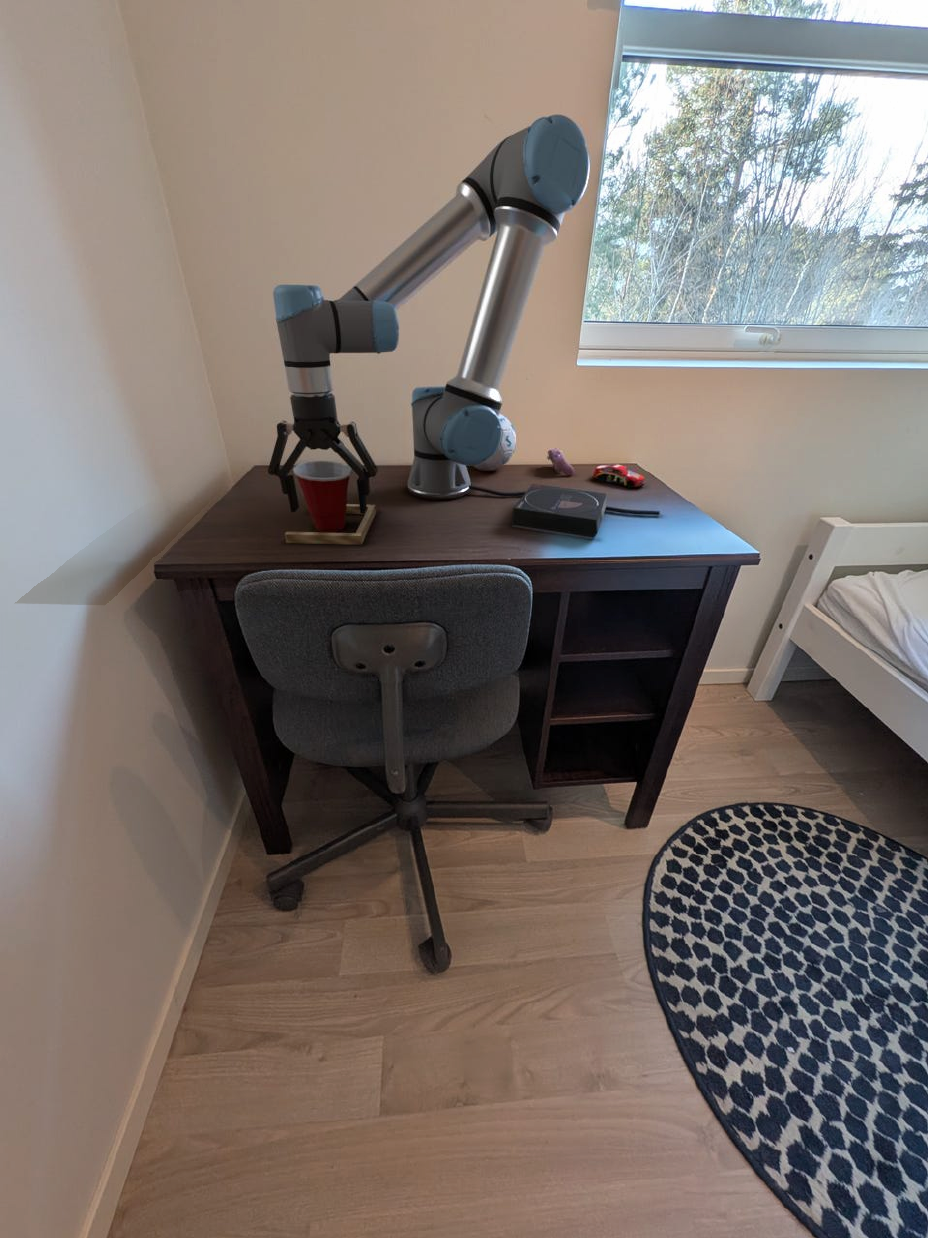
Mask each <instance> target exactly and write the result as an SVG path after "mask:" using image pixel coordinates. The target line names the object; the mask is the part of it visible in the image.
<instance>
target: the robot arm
mask: <svg viewBox="0 0 928 1238" xmlns="http://www.w3.org/2000/svg"><path fill="white" fill-rule="evenodd" d="M587 147H588V146H587V140H586V138H585V135H584V134H583V131H582V130H581V128H580V127H579V126H578V124H577V123H576V121H574V120H573V119H571V118H570V117H568V116H566V115H563V114H552V115H549V116H542V117H539V118H537V119H536V120H535V121H533V122H532V123H531V125H529V126H527V127H525V128H523V129H521V130H519V131H517V132H515V133H513V134H511V135H508V136H507V137H505V138H504V139H502V140H501V141H500V142H498V144H497V145H496V146H494V148H493V149H492V150H491V151H490V152H489V153H488V154H487V155H486V156H485V157H484V159H483V160H481V162H479V163H478V165H477V166H476V167H475V168H473V170H472V171H471V172H470V173H469V174H468V175H467V176H466V177H465V178H464V179H463V180H461V181H460V182H459V183H458V184H457V186H456V189H455V196H454V197H453V198H451V200H450V201H448V202H447V203H446V204H445V205H443V207H441V208H440V209H439V210H438V211H437V212H436V213H434V214H433V215H432V216H431V217H430V218H429V219H427V220H426V222H424V223H423V224H422V225H421V226H420V227H419V228H418V229H416V230H415V231H414V232H413V233H412V234H411V235H410V236H409V237H407V239H405V240H404V241H403V242H402V243H401V244H400V245H399V246H398V247H396V248H395V249H393V251H392V252H390V253H389V254H388V255H387V256H386V257H385V258H384V259H383V260H382V261H380V262H379V263H378V264H377V265H376V266H374V267H373V269H371V270H370V271H369V272H368V273H367V274H366V275H365V276H364V277H362V278H361V279H359V281H358V282H357V283H355V284H354V285H353V286H352V287H351V288H350V289H349V290H347V292H345V293H344V294H343V295H342V296H341V297H339V298H338V299H334V300H329V299H325V298H324V296H323V292H322V289H321V288H320V287H319V286H318V285H314V284H310V285H309V284H308V285H307V284H277V286H275V287H274V289H273V292H272V297H273V305H274V311H275V321H276V326H277V332H278V338H279V343H280V348H281V353H282V358H283V365H284V370H285V376H286V377H285V378H286V382H287V389H288V392H290V393H292V394H291V395H290V397H289V399H290V406H291V411H292V412H291V413H292V417H293V422H288V421H286V420H281V421H280V422H278V423H277V424H276V433H277V434H276V435H277V437H276V440H275V444H274V446H273V451H272V455H271V458H270V462H269V465H268V467H267V468H268V469H267V473H268V474H269V475H271V476H273V475H274V476H276V477H278V478H279V482H280V487H281V491H282V494H283V495H287V498H288V503H289V508H290V513H296V512H297V511H298V510H299V508H300V504H299V500H298V498H299V497H298V492H297V488H296V487H297V486H296V482H295V476H294V474H290V472H291V471H292V470H293V468H294V467H295V465H296V462H297V461H298V460H299V459H300V457H301V456H302V454H303V452H304V451H305V449H306V448H308V449H309V450H310V451H311V450H317V449H319V450H323V451H327V450H329V449H331V450H332V451H333V452H334V453H336V454H337V455H338V456H339V458H341V459H342V460H343V461H344V462H345V463H346V465H347V466H349V467H351V469H352V470H353V471H352V472H354V473H355V474H356V475H357V476H358V478H357V480H356V486H357V496H358V504H359V505H360V513H365V511H366V509H367V506H366V505H367V497H366V496H369V495H370V493H371V485H370V478H374V477H376V475H377V473H378V472H379V468H378V467H377V464H375V461H374V459H373V458H372V456H371V454H370V452H369V450H368V449H367V447H366V446H365V444H364V442H363V440H362V439H361V437H360V435H359V433H358V428H357V424H356V422H355V421H350V423H342V424H340V422H339V420H338V413H337V403H336V396H335V395H334V393H332V391H334V382H333V374H332V373H333V372H332V365H331V358H330V357H331V356H330V355H331V354H377V355H380V354H381V353H392V352H394V351H395V350H396V349H397V347H398V345H399V341H400V340H399V339H400V324H399V317H398V313H397V311H398V310H399V309H400V308H401V307H403V306H404V305H405V304H406V303H407V302H408V301H410V299H412V298H413V297H414V296H415V295H417V294H418V292H419V291H421V290H422V289H423V288H425V286H427V285H428V284H429V283H430V282H431V281H432V280H433V279H434V278H436V277H437V276H438V275H439V274H441V272H443V271H444V270H445V269H446V268H447V267H448V266H450V265H451V264H452V263H453V262H454V261H455V260H456V259H458V258H459V257H460V256H461V255H462V254H463V253H465V251H466V250H468V249H470V247H471V246H472V245H474V244H475V243H476V242H477V241H478V240H479V241H482V242H486V241H487V240H488V239H489V238H491V237H492V236H494V234H496V236H495V240H494V243H493V247H492V250H491V253H490V257H489V261H488V263H487V268H486V270H485V274H484V278H483V282H482V284H481V285H482V286H481V289H480V292H479V296H478V300H477V303H476V307H475V310H474V313H473V317H472V320H471V324H470V328H469V330H468V335H467V338H466V341H465V346H464V348H463V352H462V356H461V360H460V363H459V367H458V370H457V374H455V376H454V377H452V378H451V379H449V380H447V381H446V384H445V385H439V386H438V385H437V386H419V387H415V388H414V389H413V390H412V392H411V402H410V405H411V417H412V437H413V461H412V463H411V467H410V472H409V476H408V480H407V491H408V493H409V494H410V495H412V496H414V497H416V498H420V499H425V500H433V501H447V500H454V499H455V500H456V499H459V498H462V497H465V496H467V495H468V494H469V493H471V491H478V492H483V493H487V494H491V495H494V496H501V497H517V496H523V495H524V494H525V493H526V491H527V490H525V491H523V490H522V491H509V492H507V491H506V492H505V491H497V490H494V489H490V488H486V487H481V486H475V485H471V484H472V482H471V478H470V475H469V472H468V468H467V467H469V466H472V465H477V464H480V463H482V462H484V461H485V460H487V459H489V458H490V457H491V456H492V455H493V454H494V452H495V451H496V449H497V448H498V446H499V443H500V441H501V436H502V426H501V424H500V420H499V417H498V415H499V413H500V411H501V409H502V405H503V399H502V396H501V394H500V391H499V390H500V386H501V383H502V380H503V377H504V374H505V371H506V368H507V365H508V361H509V358H510V356H511V352H512V349H513V346H514V343H515V340H516V337H517V333H518V330H519V327H520V324H521V320H522V319H523V318H522V317H523V314H524V312H525V308H526V306H527V302H528V299H529V297H530V293H531V290H532V287H533V283H534V281H535V277H536V274H537V271H538V269H539V265H540V262H541V259H542V257H543V256H542V255H543V253H544V250H545V248H546V246H548V245H550V244H551V243H553V242H555V241H556V240H557V238H558V236H559V232H560V229H561V227H562V223H563V220H564V217H565V214H566V213H567V212H569V211H570V210H572V209H573V208H574V207H575V206H576V205H578V203H579V202H580V200H581V199H582V198H583V195H584V193H585V191H586V189H587V186H588V181H589V177H590V167H591V166H590V165H591V163H590V153H589V151H588V148H587ZM292 432H293V433H294V434H295V435H296V436H297V437H298V439H299V440H298V442H297V443H296V445H295V446H294V449H293V450H292V452H291V453H290V455H289V456H288V458H287V459H286V461H285V463H284V464H283V466H282V467H280V466H281V463H282V459H283V456H284V452H285V449H286V445H287V443H288V439H289V436H290V435H291V434H292ZM341 433H343V434H344V436H345V437H347V438H348V439H349V442H350V444H351V445H352V447H353V449H354V450H355V452H356V455H358V457H359V459H360V460H358V458H357V457H356V456H355V455H354V454H353V453H352V452H351V451H350V450H349V448H347V447H346V446H345V444H344V442H343V440H341V438H339V436H340V434H341ZM360 461H361V462H362V463H361V462H360ZM472 467H473V466H472ZM605 511H609V512H614V513H620V514H627V515H628V514H629V515H645V516H647V515H649V516H660V514H661V513H660V512H661V511H660V510H642V509H641V510H640V509H629V508H622V507H621V508H620V507H619V508H618V507H615V506H608V505H607V506H606V509H605Z"/></svg>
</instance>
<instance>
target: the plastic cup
mask: <svg viewBox="0 0 928 1238" xmlns="http://www.w3.org/2000/svg"><path fill="white" fill-rule="evenodd" d="M292 470H293V473H294V475H295V476H296V478H297V480H298V483H299V485H300V488H301V490H302V493H303V496H304V499H305V502H306V505H307V509H308V513H309V512H310V513H309V514H310V516H311V518H312V519H311V520H312V522H313V525H314V527H315V529H316V530H317V531H318V532H320V533H336V532H338V531H341V530H343V529H344V528H345V526H346V517H347V516H346V515H347V514H346V507H347V504H348V490H349V489H348V488H349V482H350V477H351V476H352V474H353V472H354V471H353V470H352V468H351V467H350V466H349V465H348V464H345V463H342V462H338V461H331V460H310V461H309V460H308V461H304V462H301V463H298V464H295V465H294V466H293V467H292Z"/></svg>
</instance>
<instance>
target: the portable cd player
mask: <svg viewBox="0 0 928 1238" xmlns="http://www.w3.org/2000/svg"><path fill="white" fill-rule="evenodd" d="M525 491H526V493H525V494H524V495H521V498H520V499H519V500H518V501H517V503H516V504H515V505H514V506H513V507H512V520H511V521H512V522H511V527H513V528H517V529H518V528H519V529H526V530H531V531H538V532H545V533H550V534H556V535H557V534H558V535H563V536H564V535H565V536H570V537H576V538H577V537H578V538H583V539H590V540H594V538H595V537H596V536H597V535H598V532H599V530H600V527H601V524H602V521H603V518H604V515H605V512H606V510H605V509H606V506H608V505H607V493H605V492H598V491H592V490H591V491H590V490H583V489H573V488H566V487H558V486H552V485H551V486H550V485H544V484H543V485H542V484H536V483H535V484H534V483H531V485H530V486H529V488H528V489H527V490H525Z"/></svg>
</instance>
